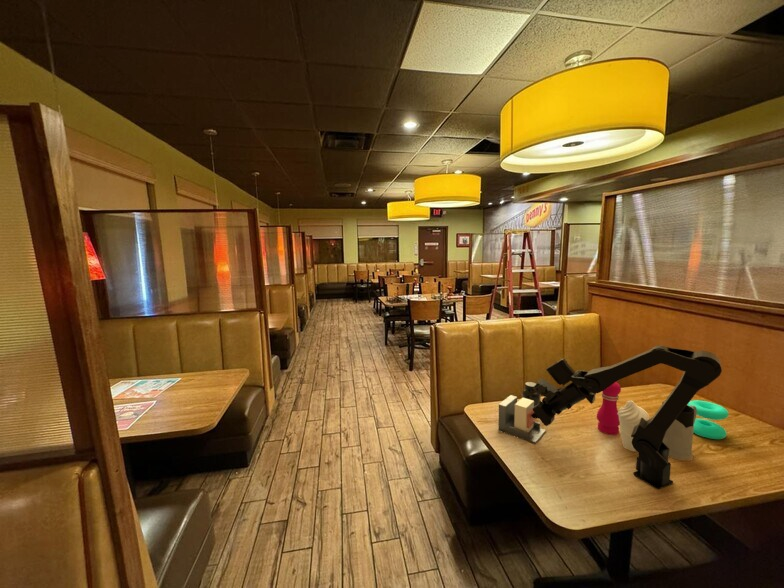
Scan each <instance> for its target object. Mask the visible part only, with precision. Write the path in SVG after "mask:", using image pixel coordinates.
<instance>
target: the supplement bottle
mask: <svg viewBox="0 0 784 588" xmlns="http://www.w3.org/2000/svg"><path fill="white" fill-rule="evenodd" d="M536 383H537V382H532V381H527V382H525V383H524V388H523V389H522V391H521V399H522V398H526V399H530V400H533V401H534V407H535V406H536V405H537V404H538V403H539V402H540V401H541V402H542V399H541V398H542V397H541V396H542V395H540V394H539V393H538V392H536V391H535V390H534V386H535V385H536Z"/></svg>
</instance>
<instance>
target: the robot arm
mask: <svg viewBox="0 0 784 588" xmlns="http://www.w3.org/2000/svg"><path fill="white" fill-rule="evenodd" d="M660 364H662V365H665V366H669V367H672V368H674V369H677V370H679V371H682V376H681V378H680V379H679V381H678V382H677V383H676V384H675V386H674V388H673V389H672V390H671V392H670V393H669V395H668V396H667V397H666V399H664V401H663V404H662V403H661V405H660V406H659V408H658V409H656V410H657V411H656V412H655V413H654V415H652V417H650V419H649V420H647V421H646V420H645V419H643V418H641V420H640V422H639V424H638V425H637V426H634V429H633V432H632V434H631V437H633V439H632V445H633V447H634V449H635V450H636V451H637V452H636V453H638V456H636V464H635V467H636V468H635V470H636V471H634V472H632V473H633V475H634V476H636V477H637V478H639V479H640V480H642V481H644V482H645V483H647V484H648V485H650V486H651V487H653V488H655V489H657V490H661V489H663V488H665V487H668V486H671V485H673V484H674V481H673V480H671V470H672V469H671V468H672V463H670V462H669V458H670V457H669V452H670V449H669V448H668V447H667V446H666V445H665V444H664V442H663V438H664V436H665V433H666V431H667V430H668V428H669V427H670V426H671V425H672V423H673V422H674V421H675V419H676V418H677V417H678V416H679V414H680V413H681V412H682V411H683V409H684V408H685V407H686V405H688V403H689V402H690V401H692V399H693V398H694V397H695V395H696V394H697V393H698V392H700V390H702V389H703V388H705V387H707V386H709V385H710V384H711V383H713V382H715V381H716V379H718V378H719V377H720V376H721V374H722V371H723V370H722V369H723V367H722V363H721V360H720V357H718V356H717V354H715V353H713V352H711V351H707V350H698V351H694V350H690V349H685V348H684V349H682V348H675V347H669V346H665V345H660V344H659V345H655V346H653V347H652V348H651V349H647V350H646V351H644V352H641V353H638V354H636V355H633V356H631V357H629V358H627V359H625V360H623V361H620V362H618V363H616V364H613V365H609V366H602V367H601V366H600V367H596V368H592V369H591V370H581V369H580V370H578V369H577V370H576V371H575V370H574V369H573V368H572V367H571V366H570V364H569V363H568V361H567V360H566V358H561V359H560V360H558V361H555V362H554V363H553V364H551V365H550V366H549V367H547V368H545V371H546V372H547V373H548V375H550V376H551V378H552V379H553V380H554V381H555V382H556V384H557V385H559V386H563V387H558V388H556V386H554V385H553V384H552V383H550V382H549V381H548V380H546V379H545V378H542V377H541V378H540V379H538V381H537V382H535V383H536V385H535V386H534V390H535V391H536V392H538V393H539V394H540V395H541V396H543V398H542V399H541V401H540V402H539V403H538V404H537V405H536V406H535V407H534V408H533V411H534V413H533V414H532V415H531V416H532V417H533V418H534V419H539V420H540V421H541V423H542V424H543V425H544V426H545V427H548V426H550V425H551V424H552V423H553V422H554V421H555V416H556V415H560V414H561V413H562V412H564V411H565V410H566V409H568V410H570V409H571V408H572V407H573V406H574V405H576V404H578V403H580V402H582V401H584V400H585V399H586V400H587V402H588V403H590V404H592V405H593V404H594V402H595V401H596V395H597V394H600V393H602V391H603V390H605V389H606V388H608V387H609V386H611V385H612V384H613V383H615V382H617V381H619V380H620V381H621V380H622V379H624V378H627V377H629V376H632V375H634V374H638V373H639V372H641V371H642V372H643V371H644V370H647V369H650V368H652V367H655V366H657V365H660ZM568 383H569V384H568ZM564 385H565V386H564Z"/></svg>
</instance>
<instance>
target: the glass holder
mask: <svg viewBox="0 0 784 588" xmlns="http://www.w3.org/2000/svg"><path fill="white" fill-rule="evenodd" d="M663 402H664V401H663ZM663 402H662V403H661V405H662V404H663ZM692 407H693V408H694V409H693V408H692ZM696 413H697V409H696V407H695V406H692V405H691V406H688V404H687V405H686V407H685V408H684V409H683V411H682V412H681V413H680V414H679V416H678V417H677V418H676V419H675V421H674V422H673V423H672V425H671V426H670V427H669V428H668V430H667V431H666V433H665V436H664V438H663V442H664V444H665V445H666V446H667V447H668V448H669V449H670V452H669V458H672V459H674V460H678V461H684V460H689V461H691V459H692V460H693V459H694V456H693V452H692V451H693V439H694V433H693V430H694V422H695V419H696V418H697V415H696Z"/></svg>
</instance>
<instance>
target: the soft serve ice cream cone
mask: <svg viewBox="0 0 784 588" xmlns="http://www.w3.org/2000/svg"><path fill="white" fill-rule="evenodd" d="M617 410H618V413H617V414H618V415H619V421H620V425H619V432H620V436H621V441H622V442H621V443H622V447H623V448H624V449H626V450H627V451H630V452H636V453H638V452H637V451H636V450H635V449H634V447H633V445H632V439H633V437H631V434H632V432H633V429H634V426H637V425H638V424H639V422H640V420H641V418H643V419H645V420H646V421H647V420H649V419H651V417H650V414H649V413H648V412H647V411H646V410H645V409H644V408H642V407H640V406H639V405H637V404H636V403H635V402H634V401H633V400H627V401H626V402H625V405H624V406H621V407H620V408H619V409H617Z"/></svg>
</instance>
